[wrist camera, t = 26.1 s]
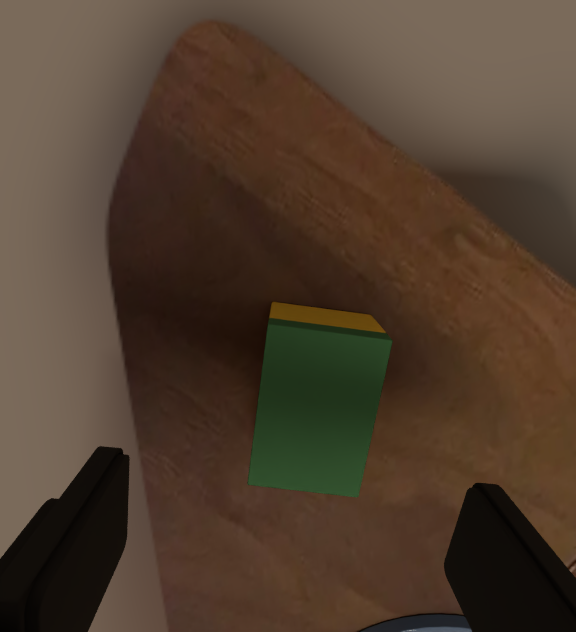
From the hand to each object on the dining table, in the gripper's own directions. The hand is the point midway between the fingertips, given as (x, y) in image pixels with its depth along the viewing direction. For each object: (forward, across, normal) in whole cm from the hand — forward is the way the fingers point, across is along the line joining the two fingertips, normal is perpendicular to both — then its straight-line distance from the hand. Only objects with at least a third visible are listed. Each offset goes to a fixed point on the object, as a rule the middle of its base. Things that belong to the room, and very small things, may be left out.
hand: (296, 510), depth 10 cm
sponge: (+10, -1, 0) cm, 10 cm away
